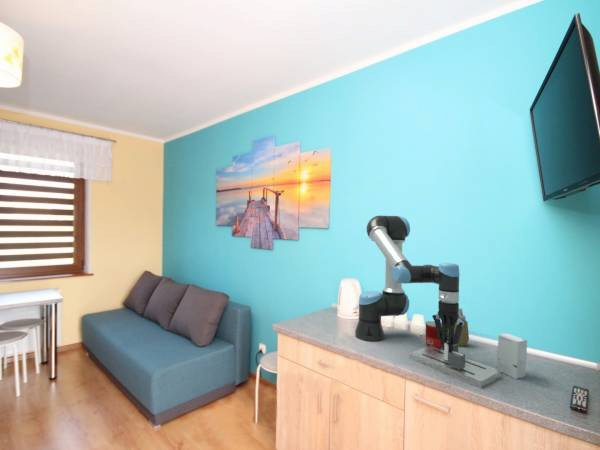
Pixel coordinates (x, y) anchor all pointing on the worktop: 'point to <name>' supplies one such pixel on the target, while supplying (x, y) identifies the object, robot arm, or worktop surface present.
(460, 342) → the squeeze bottle
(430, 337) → the canned food
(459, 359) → the fader
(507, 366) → the skincare box
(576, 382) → the worktop surface
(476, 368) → the console
